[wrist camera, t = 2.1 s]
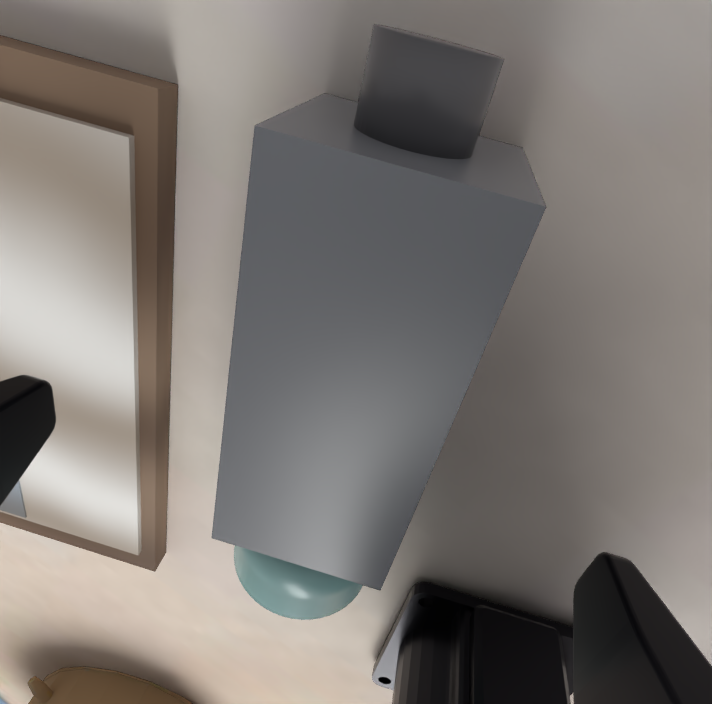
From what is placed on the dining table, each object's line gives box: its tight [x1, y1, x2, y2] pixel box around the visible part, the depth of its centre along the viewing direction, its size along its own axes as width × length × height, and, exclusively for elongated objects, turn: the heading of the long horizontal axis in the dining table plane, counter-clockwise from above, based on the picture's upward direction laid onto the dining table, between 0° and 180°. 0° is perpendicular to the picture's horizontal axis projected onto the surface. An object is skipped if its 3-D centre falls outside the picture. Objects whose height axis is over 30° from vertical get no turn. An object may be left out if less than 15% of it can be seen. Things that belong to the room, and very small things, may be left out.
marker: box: [212, 24, 546, 620], centre depth 11 cm, size 13×4×4 cm, turn 168°
